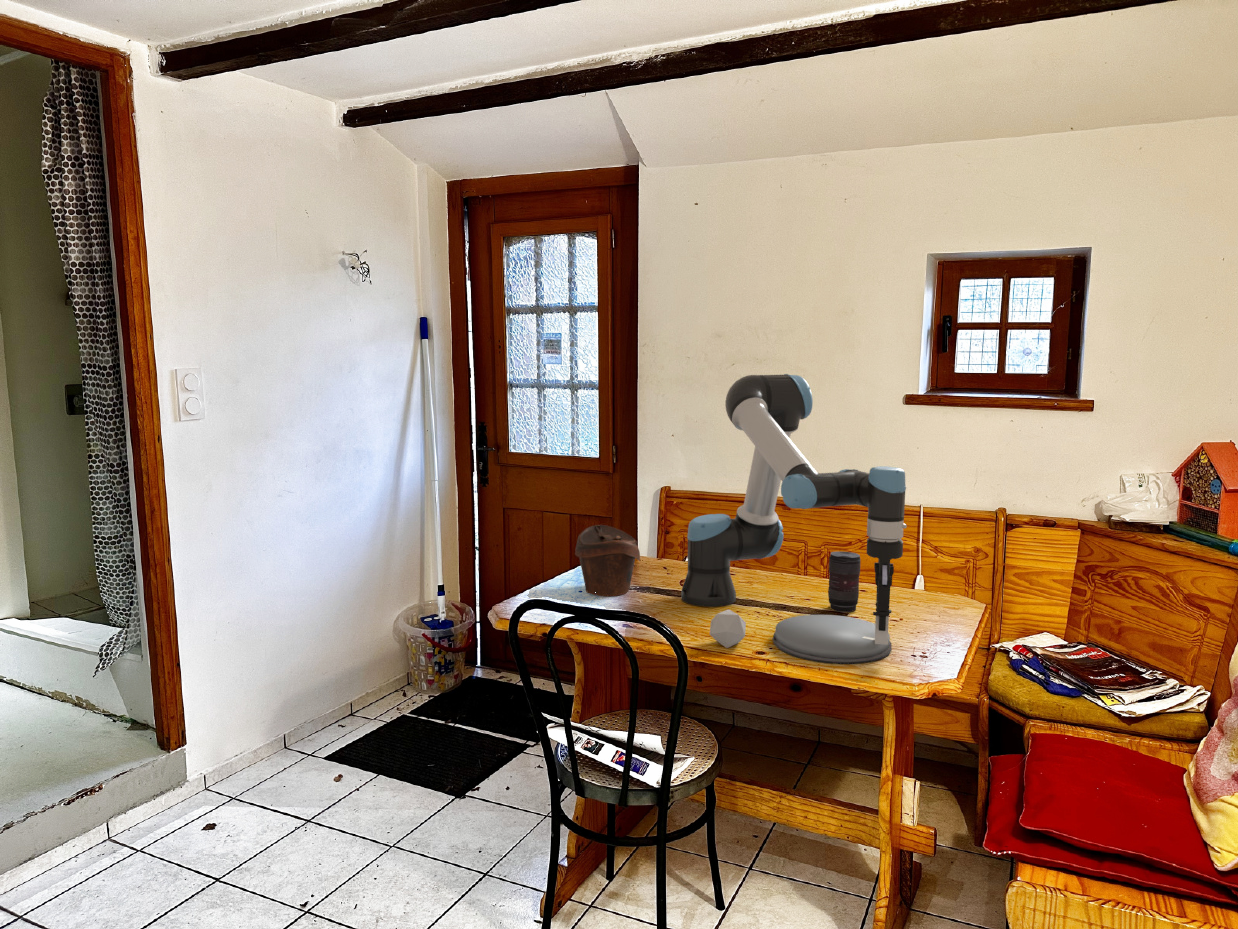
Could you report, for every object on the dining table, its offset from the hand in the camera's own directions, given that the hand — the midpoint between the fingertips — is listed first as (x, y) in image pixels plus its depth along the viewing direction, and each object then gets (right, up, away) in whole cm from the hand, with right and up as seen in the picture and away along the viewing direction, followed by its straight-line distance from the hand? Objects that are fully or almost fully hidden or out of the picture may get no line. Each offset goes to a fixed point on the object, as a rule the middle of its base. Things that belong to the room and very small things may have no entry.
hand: (881, 643), depth 188 cm
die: (-32, -3, +13) cm, 35 cm away
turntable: (-8, -2, +12) cm, 15 cm away
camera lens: (+2, +1, +41) cm, 41 cm away
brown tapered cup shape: (-61, +3, +58) cm, 84 cm away
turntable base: (-8, -3, +13) cm, 15 cm away
